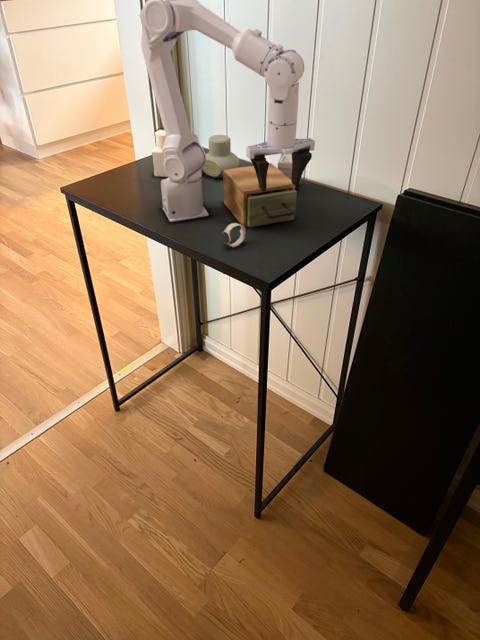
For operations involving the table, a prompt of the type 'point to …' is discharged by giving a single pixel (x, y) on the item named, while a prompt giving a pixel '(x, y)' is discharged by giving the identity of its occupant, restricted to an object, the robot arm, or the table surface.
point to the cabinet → (249, 187)
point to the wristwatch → (227, 235)
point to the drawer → (271, 207)
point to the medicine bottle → (159, 153)
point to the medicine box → (286, 164)
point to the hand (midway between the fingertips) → (278, 186)
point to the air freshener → (219, 156)
